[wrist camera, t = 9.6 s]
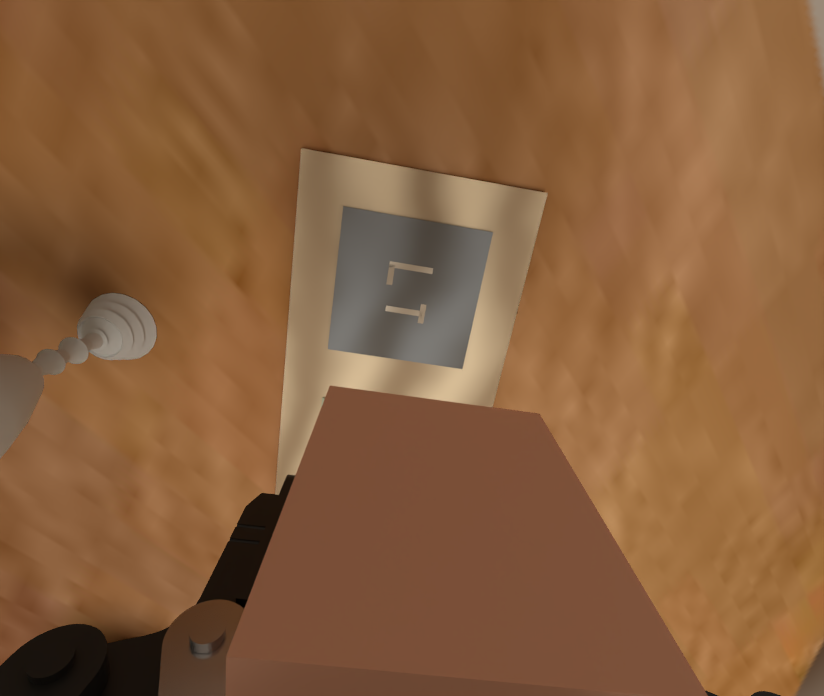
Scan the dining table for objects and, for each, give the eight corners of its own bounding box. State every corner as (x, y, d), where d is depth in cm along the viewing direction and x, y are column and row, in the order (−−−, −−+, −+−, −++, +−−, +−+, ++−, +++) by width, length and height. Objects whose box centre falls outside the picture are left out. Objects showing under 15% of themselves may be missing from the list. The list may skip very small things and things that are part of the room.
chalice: (118, 258, 30) (-245, 350, 13) (191, 335, 32) (-44, 499, 15) (48, 319, 31) (-362, 472, 15) (122, 388, 33) (-165, 595, 17)
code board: (274, 522, 38) (272, 529, 37) (303, 148, 28) (300, 147, 27) (455, 543, 39) (456, 550, 38) (544, 193, 29) (548, 193, 28)
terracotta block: (312, 552, 13) (221, 912, 7) (329, 385, 11) (225, 655, 5) (493, 572, 14) (577, 931, 7) (539, 413, 12) (710, 700, 5)
